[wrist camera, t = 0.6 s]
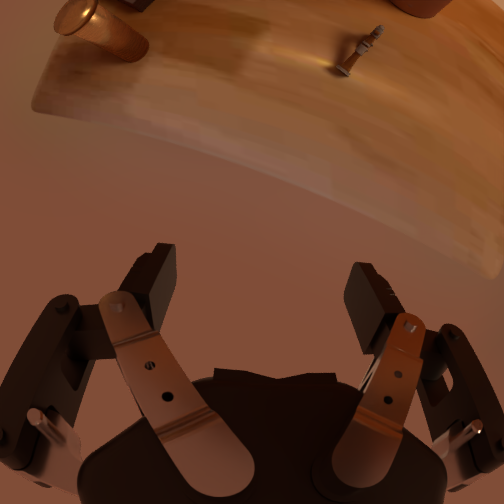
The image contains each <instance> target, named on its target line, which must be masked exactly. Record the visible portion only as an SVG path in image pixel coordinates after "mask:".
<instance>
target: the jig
mask: <svg viewBox="0 0 504 504" xmlns="http://www.w3.org/2000/svg"><path fill="white" fill-rule="evenodd" d="M118 1H120V2H122V3H124V4H127V5H129V6H131V7H133V8H135V9H137V10H138V11H140V12H143V11H144V10H145V9H146V8H147V7H148V6H149V5H150V4H151V3H152V2H153V1H154V0H118Z"/></svg>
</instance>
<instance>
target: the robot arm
mask: <svg viewBox="0 0 504 504" xmlns="http://www.w3.org/2000/svg"><path fill="white" fill-rule="evenodd" d="M390 1H391V2H392V3H393V4H394V5H396V6H397V7H399V8H400V9H402V10H403V11H405V12H407V13H409V14H411V15H413V16H417V17H420V18H431V17H434V16H435V15H436V14H437V13H438V12H440V11H441V10H442V9H443V8H444V7H445V6H446V5H448V4H449V3H450V2H451V1H452V0H390ZM176 278H177V272H176V248H175V244H167V243H157V245H156V246H155V248H154V250H153V251H152V253H144V254H143V255H142V256H140V257H139V258H137V260H136V261H135V263H134V264H133V267H132V268H131V269H130V271H129V273H128V274H127V276H126V277H125V279H124V280H123V282H122V284H121V285H120V287H119V289H118V290H117V291H114V292H110V293H108V294H106V295H105V296H103V297H102V299H101V300H100V302H99V304H95V305H82V306H80V305H79V302H78V300H77V298H76V297H75V296H73V295H69V294H65V295H59V296H57V297H55V298H53V299H52V300H51V301H50V302H49V303H48V304H47V306H46V307H45V309H44V310H43V312H42V313H41V315H40V316H39V318H38V320H37V321H36V323H35V324H34V326H33V327H32V329H31V331H30V333H29V334H28V336H27V337H26V339H25V341H24V343H23V344H22V346H21V348H20V350H19V351H18V353H17V355H16V357H15V359H14V360H13V362H12V364H11V366H10V368H9V370H8V372H7V374H6V376H5V378H4V380H3V382H2V384H1V386H0V461H1V462H2V463H4V465H5V466H7V467H8V468H9V469H11V470H12V471H14V472H16V473H17V474H19V475H21V476H22V477H24V478H26V479H27V480H30V481H33V482H34V483H36V484H38V485H40V486H42V487H46V488H50V487H54V488H56V489H59V490H61V491H64V492H66V493H69V494H71V495H74V496H77V497H79V498H80V501H81V504H443V502H444V496H445V492H446V491H449V492H456V491H459V490H461V489H462V488H464V487H466V486H468V485H470V484H472V483H473V482H475V481H477V480H479V479H481V478H482V477H484V476H486V475H487V474H489V473H490V472H492V471H493V470H495V469H497V468H498V467H500V466H501V465H503V464H504V413H503V410H502V408H501V406H500V403H499V401H498V399H497V396H496V394H495V392H494V390H493V388H492V386H491V383H490V381H489V379H488V377H487V375H486V373H485V371H484V369H483V367H482V365H481V363H480V361H479V359H478V358H477V356H476V354H475V352H474V350H473V348H472V347H471V345H470V343H469V341H468V340H467V338H466V336H465V335H464V333H463V332H462V330H460V329H459V328H458V327H457V326H455V325H452V324H444V325H443V326H442V327H441V329H440V330H439V332H435V331H431V330H427V329H426V328H425V325H424V323H423V322H422V320H421V319H419V318H418V317H417V316H415V315H413V314H410V313H406V312H405V310H404V308H403V306H402V305H401V303H400V301H399V300H398V298H397V296H395V293H394V291H393V290H392V288H391V286H390V285H389V283H388V282H387V281H386V280H385V279H384V278H383V277H382V276H381V275H379V274H377V272H376V270H375V269H374V267H373V265H372V264H371V263H362V262H355V263H354V264H353V267H352V270H351V273H350V276H349V279H348V282H347V285H346V288H345V291H344V302H345V305H346V308H347V310H348V313H349V316H350V318H351V321H352V324H353V327H354V329H355V332H356V335H357V338H358V340H359V343H360V346H361V349H362V352H363V354H374V359H373V360H372V362H371V364H370V366H369V368H368V370H367V372H366V374H365V376H364V378H363V380H362V382H361V383H360V385H359V387H358V389H356V388H354V387H352V386H350V385H347V384H345V383H341V382H337V378H336V374H335V373H306V374H301V375H297V376H291V377H286V378H281V379H275V378H271V377H267V376H263V375H259V374H255V373H252V372H248V371H242V370H229V369H219V368H214V376H213V377H207V378H203V379H199V380H196V381H193V382H190V380H189V379H188V377H187V376H186V374H185V373H184V371H183V370H182V368H181V367H180V365H179V364H178V362H177V360H176V359H175V357H174V356H173V354H172V353H171V351H170V349H169V348H168V346H167V345H166V343H165V341H164V340H163V338H162V337H161V335H160V333H159V332H160V328H161V325H162V323H163V320H164V317H165V314H166V311H167V309H168V306H169V303H170V300H171V297H172V295H173V292H174V289H175V286H176ZM114 358H115V359H116V361H117V363H118V366H119V368H120V370H121V373H122V375H123V377H124V380H125V382H126V384H127V386H128V388H129V390H130V392H131V395H132V397H133V399H134V401H135V403H136V405H137V407H138V410H139V411H140V413H141V415H142V418H140V419H139V420H138V421H137V422H135V423H134V424H133V425H131V426H130V427H128V428H127V429H125V430H124V431H123V432H121V433H120V434H118V435H117V436H116V437H114V438H113V439H111V440H110V441H109V442H107V443H106V444H105V445H103V446H101V447H100V448H98V449H97V450H95V451H94V452H92V453H91V454H90V455H89V456H88V457H87V458H86V459H85V460H84V462H83V460H82V458H81V453H80V450H81V442H80V438H79V436H78V435H77V433H76V432H75V431H74V429H73V427H74V423H75V420H76V417H77V413H78V410H79V407H80V404H81V401H82V398H83V395H84V392H85V389H86V386H87V383H88V380H89V377H90V375H91V372H92V369H93V367H94V364H95V361H96V360H98V359H114ZM447 368H448V369H449V371H450V373H451V376H452V378H453V387H452V389H451V391H450V392H449V390H448V388H447V385H446V382H445V380H444V378H443V375H442V374H443V373H444V372H445V370H446V369H447ZM416 389H417V392H418V395H419V398H420V401H421V404H422V407H423V411H424V414H425V417H426V420H427V424H428V427H429V431H430V434H431V438H432V442H433V445H432V448H431V449H430V448H429V447H428V446H427V445H425V444H424V443H423V442H422V441H420V440H419V439H418V438H417V437H415V436H414V435H413V434H412V433H410V432H409V431H408V430H407V429H405V428H404V427H403V425H404V423H405V420H406V417H407V414H408V411H409V408H410V406H411V402H412V399H413V396H414V393H415V390H416Z"/></svg>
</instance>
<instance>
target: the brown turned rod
mask: <svg viewBox="0 0 504 504" xmlns="http://www.w3.org/2000/svg"><path fill="white" fill-rule="evenodd" d="M384 29H385V28H384V26H382V25H379V26H377V27H376V28H375V29H374V30H373V31H372V32H371V33H370V34H371V35H370V36H369V37H368V38H367V39H366V40H365V41H364V40H363V41H362V44H361V43H360V45H359V46H358V47H357V49H355V52H354V53H353V54H352V55H351V56H350V57H349V58H348V59H347V60H346V61H345V62H344V63H343V64H342V65H340V66H339V65H337V66H336V67H337V68H338V69H340V70H341V71H342V72H343V73H345V74H346V75H347V76H349V75H350V73H349V71H350V69H351V68H352V66H353V65H354V63H355V62H356V60H357V59H358V58H359V57H360V56H362V55H363V53H364V52H365V51H368V49H369V48H370V47H371V46H373V45H372V42H374V40H375V39H378V38H379V37H380V35H381V34H382V33H383V32H384V31H383V30H384Z"/></svg>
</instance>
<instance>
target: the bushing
mask: <svg viewBox="0 0 504 504" xmlns="http://www.w3.org/2000/svg"><path fill="white" fill-rule="evenodd" d="M54 30H55V31H56V32H57V33H59V34H61V35H64V36H69V35H72V34H74V35H76V36H78V37H80V38H82V39H84V40H86V41H88V42H90V43H92V44H94V45H96V46H98V47H100V48H102V49H104V50H106V51H108V52H110V53H112V54H114V55H116V56H118V57H120V58H121V59H123V60H125V61H127V62H130V63H132V62H136V61H139V60H140V59H142V58H143V57H144V56H145V54H146V53H147V51H148V49H149V42H148V40H147V39H146V38H144V37H143V36H142V35H140V34H139V33H138V32H136V31H135V30H134V29H132V28H131V27H130V26H128V25H127V24H126V23H124V22H123V21H122V20H120V19H119V18H117V17H116V16H115V15H113V14H112V13H110V12H109V11H108V10H106V9H105V8H103V7H102V6H100V5H99V4H98V0H69V1H68V2H67V3H66V4H65V5H64V6H63V7H62V8H61V10H60V11H59V13H58V14H57V17H56V19H55V22H54Z"/></svg>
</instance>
